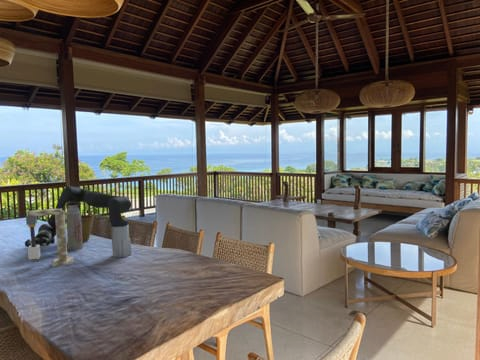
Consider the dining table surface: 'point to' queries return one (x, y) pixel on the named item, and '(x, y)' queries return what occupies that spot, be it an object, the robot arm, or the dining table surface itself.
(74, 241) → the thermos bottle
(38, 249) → the sleeve
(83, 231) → the plant pot
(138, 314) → the dining table surface
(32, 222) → the dark grey piece
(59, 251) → the stand
